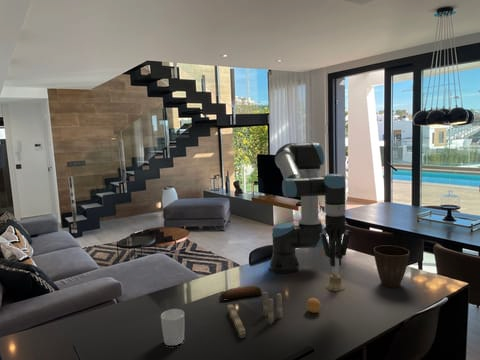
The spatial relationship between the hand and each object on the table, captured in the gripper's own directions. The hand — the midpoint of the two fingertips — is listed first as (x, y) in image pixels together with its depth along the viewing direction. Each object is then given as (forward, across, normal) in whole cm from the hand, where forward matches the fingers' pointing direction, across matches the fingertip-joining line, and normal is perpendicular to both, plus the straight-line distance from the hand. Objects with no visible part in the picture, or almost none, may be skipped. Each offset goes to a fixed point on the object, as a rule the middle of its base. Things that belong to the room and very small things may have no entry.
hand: (335, 273), depth 142 cm
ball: (+12, -9, 0) cm, 15 cm away
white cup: (+15, -63, -5) cm, 65 cm away
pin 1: (+14, -28, +3) cm, 32 cm away
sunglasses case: (+15, -33, +24) cm, 44 cm away
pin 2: (+15, -28, -3) cm, 32 cm away
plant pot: (+14, +35, +13) cm, 40 cm away
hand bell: (+15, +10, +18) cm, 25 cm away
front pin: (+14, -23, 0) cm, 27 cm away
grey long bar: (+15, -40, 0) cm, 43 cm away
